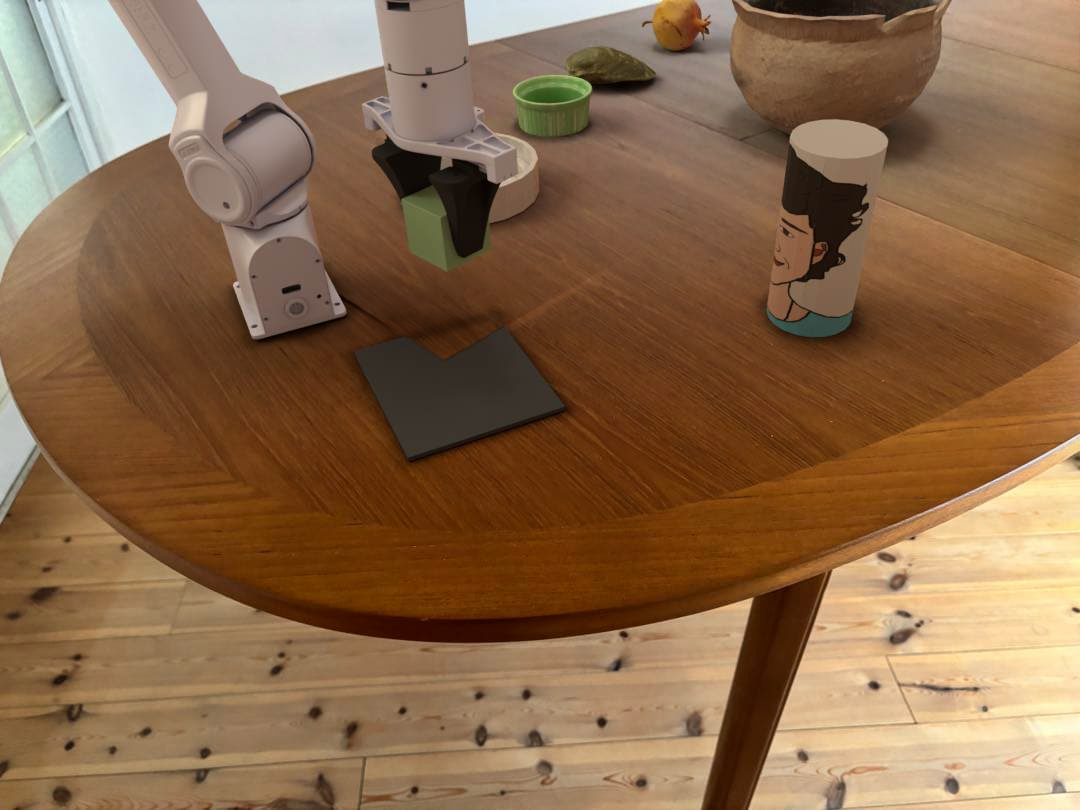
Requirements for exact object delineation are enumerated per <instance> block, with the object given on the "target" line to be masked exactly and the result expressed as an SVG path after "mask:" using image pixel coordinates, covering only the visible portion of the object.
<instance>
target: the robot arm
mask: <svg viewBox="0 0 1080 810" xmlns="http://www.w3.org/2000/svg"><path fill="white" fill-rule="evenodd" d="M107 2H108V3H109V5H110V6H111V8H112V9H113V11H114V12H115V14H116V15H117V17H118V19H119V20H120V22H121V23H122V25H123V26H124V28H125V29H126V31H127V33H128V34H129V35H130V37H131V38H132V40H133V41H134V43H135V44H136V46H137V48H138V50H139V51H140V52H141V54H142V55H143V57H144V58H145V60H146V61H147V63H148V65H149V66H150V68H151V69H152V71H153V72H154V74H155V75H156V77H157V78H158V80H159V81H160V83H161V85H162V87H163V88H164V89H165V91H166V92H167V94H168V95H169V97H170V99H171V100H172V102H173V103H174V105H175V107H176V113H175V117H174V121H173V125H172V127H171V132H170V136H169V140H168V148H169V150H170V151H171V153H172V155H173V156H174V158H175V159H176V161H177V162H178V164H179V167H180V168H181V171H182V174H183V178H184V182H185V185H186V188H187V190H188V192H189V195H190V196H191V197H192V199H193V201H194V202H195V204H196V205H197V206H198V207H199V209H200V210H202V211H203V212H204V213H205V214H206V215H208V216H209V217H210V218H211V219H212V220H213V222H215V223H217V224H219V223H220V225H221V229H222V232H223V235H224V238H225V242H226V246H227V248H228V253H229V255H230V259H231V262H232V265H233V270H234V273H235V275H236V279H237V281H235V282H233V284H232V286H233V289H234V293H235V296H236V298H237V301H238V304H239V307H240V309H241V312H242V314H243V317H244V320H245V322H246V326H247V328H248V332H249V333H250V337H251V338H252V339H253V340H256V341H257V340H261V339H265V338H269V337H272V336H276V335H279V334H284V333H287V332H292V331H295V330H298V329H302V328H306V327H310V326H313V325H316V324H320V323H324V322H327V321H331V320H334V319H339V318H342V317H345V316H346V315H347V308H346V306H345V305H344V302H343V300H342V299H341V297H340V295H339V293H338V291H337V289H336V288H335V286H334V284H333V282H332V280H331V277H330V276H329V274H328V273H327V271H326V269H325V268H326V267H325V264H324V259H323V256H322V253H321V248H320V245H319V240H318V236H317V230H316V227H315V223H314V222H315V221H314V218H313V213H312V209H311V204H310V200H309V195H308V192H309V190H311V184H310V180H309V175H310V174H311V173H312V172H313V171H314V169H315V167H316V164H317V161H318V146H317V143H316V139H315V137H314V135H313V133H312V131H311V129H310V128H309V126H308V125H307V123H306V122H305V121H304V120H303V119H302V118H301V116H299V115H298V114H297V113H296V112H295V111H293V110H292V109H291V108H290V107H289V106H288V105H287V104H286V103H285V102H284V101H283V99H282V97H281V96H280V94H279V93H278V91H277V89H276V88H275V86H274V85H272V84H271V83H268V82H266V81H263V80H261V79H258V78H255V77H254V76H253V77H252V76H250V75H247V74H245V73H243V72H242V71H240V69H239V67H238V66H237V63H236V62H235V60H234V59H233V57H232V56H231V54H230V52H229V51H228V48H227V47H226V45H225V44H224V42H223V40H222V39H221V37H220V36H219V34H218V32H217V30H216V29H215V27H214V26H213V24H212V23H211V21H210V19H209V18H208V16H207V14H206V12H205V11H204V9H203V8H202V6H201V3H199V1H198V0H107ZM373 2H374V9H375V14H376V21H377V27H378V35H379V41H380V48H381V53H382V60H383V61H382V62H383V67H384V74H385V80H386V88H387V94H388V97H386V96H384V95H382V96H381V95H380V96H379V97H376V98H373V99H371V100H368V101H366V102H362V103H361V108H362V115H363V120H364V121H363V122H364V127H365V129H366V130H368V131H371V132H378V131H380V130H381V131H383V132H384V133H385V139H384V143H382V144H379V145H376V146H375V147H373V148H372V149H371V157H372V160H373V161H374V162H375V163H376V165H378V167H379V168H380V169H381V171H382V172H383V173H384V174H385V176H386V177H387V179H388V180H389V182H390V184H391V185H392V187H393V190H394V191H395V193H396V194H397V197H398V199H399V200H400V204H401V203H402V200H401V199H403V198H405V197H407V196H409V195H412V194H414V193H416V192H418V191H420V190H423V189H425V188H427V187H429V186H432V185H433V186H434V188H435V190H436V191H437V193H438V195H439V197H440V199H441V201H442V203H443V206H444V208H445V211H446V214H447V217H448V221H449V226H450V231H451V236H452V241H453V244H454V247H455V250H456V252H457V255H458V256H460V257H462V258H466V257H468V256H470V255H472V254H474V253H476V252H477V251H479V250H481V249H483V245H484V239H485V233H486V227H487V222H488V218H489V213H490V210H491V206H492V203H493V200H494V198H495V195H496V193H497V190H498V188H499V186H500V184H501V182H503V181H505V180H507V179H509V178H511V177H513V176H515V175H517V174H518V165H517V150H516V147H514V146H511V145H509V144H507V143H506V142H504V141H502V140H501V139H500V138H499V137H498V136H497V135H496V134H494V133H495V132H494V131H493V130H491V129H490V128H489V127H488V126H487V125H486V124H485V123H484V122H483V121H485V119H486V117H485V109H483V108H480V107H478V106H475V101H474V90H473V79H472V70H471V69H472V68H471V59H470V47H469V36H468V26H467V16H466V15H467V14H466V4H465V0H373ZM235 121H237V122H239V123H237V125H234V126H233V127H231V128H230V129H229V130H227V131H226V132H224V131H225V129H226V128H227V127H228V126H229V125H231V124H232V123H233V122H235ZM493 132H494V133H493ZM442 157H447V158H451V159H452V167H451V166H449V167H447V168H445V169H442V170H440V169H441V160H442Z"/></svg>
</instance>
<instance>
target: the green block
mask: <svg viewBox="0 0 1080 810" xmlns="http://www.w3.org/2000/svg"><path fill="white" fill-rule="evenodd" d="M401 200H402V204H401V207H402V211H403V219H404V225H405V232H406V236H407V237H406V238H407V244H408V252H409V253H410V254H412V255H414V256H416V257H418V258H420V259H421V260H423V261H425V262H427V263H429V264H431V265H432V266H434V267H437V268H438V269H440V270H443V271H444V272H446V273H449V272H451V271H452V270H454V269H456V268H459V267H460V266H462V265H464V264H466V263H467V262H470V261H472V260H474V259H476V258H477V257H479V256H481V255H483V254H486V253H487V252H489V251H491V250H492V248H493V247H492V238H491V227H490V223H489V218H488V222H487V227H486V233H485V239H484V245H483V249H481V250H479V251H477V252H476V253H474V254H472V255H470V256H468V257H466V258H462V257H460V256H458V255H457V252H456V250H455V247H454V244H453V241H452V236H451V231H450V226H449V221H448V217H447V214H446V211H445V208H444V206H443V203H442V201H441V199H440V197H439V195H438V193H437V191H436V190H435V188H434V186H433V185H432V186H429V187H427V188H425V189H423V190H420V191H418V192H416V193H414V194H412V195H409V196H407V197H405V198H403V199H401Z"/></svg>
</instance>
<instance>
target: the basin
mask: <svg viewBox="0 0 1080 810" xmlns="http://www.w3.org/2000/svg"><path fill="white" fill-rule="evenodd" d="M492 132H493V133H494V134H496V135H497V136H498V137H499V138H500V139H501V140H502V141H504V142H506V143H507V144H509V145H511V146H514V147H516V150H517V165H518V174H517V175H515V176H513V177H511V178H509V179H507V180H505V181H503V182H501V184H500V186H499V188H498V190H497V193H496V195H495V198H494V200H493V203H492V206H491V210H490V213H489V224H492V223H493V224H494V223H496V222H497V223H498V222H500V221H501V222H502V221H505V220H508V219H510V218H511V217H514V216H516V215H518V214H521V213H523V212H524V211H526V209H528V208H529V207H530V206H531V205H533V204H534V203H535V201H536V199H537V198H538V194H539V193H540V177H539V158H538V155H537V151H536V149H535V148H534V147H533V146H532V145H531V144H529V142H527V141H525V140H523V139H522V138H521V139H520V138H519V137H516V136H513V135H509V134H504V133H500V132H494V131H492ZM449 166H451V167H452V159H451V158H447V157H442V160H441V169H440V170H442V169H445V168H447V167H449ZM400 205H402V203H401V202H400Z"/></svg>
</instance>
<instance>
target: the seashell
mask: <svg viewBox="0 0 1080 810" xmlns="http://www.w3.org/2000/svg"><path fill="white" fill-rule="evenodd" d="M564 69H565V70H566V71H567V72H568V74H569V76H573V77H578V78H581V79H583V80H585V81H587V82H588V83H590V85H592V84H594V85H595V84H596V85H604V84H613V83H618V82H629V81H635V82H636V81H642V82H645V81H649V80H651V79H653V78H655V77H657V72H656V71H655V70H654V69H652V68H651V67H650V66H649V65H648V64H646V63H645V62H643V61H641V60H639V59H638V58H637V57H635V56H632V54H629V53H626V52H624V51H621V50H619V49H615V48H613V47H609V46H604V45H603V46H602V45H600V46H599V45H598V46H597V45H596V46H588V47H585V48H582V49H580V50H579V51H577V52H574V53H572V54H571V55H569V57H568V58H567V59H566V61H565V64H564Z"/></svg>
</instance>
